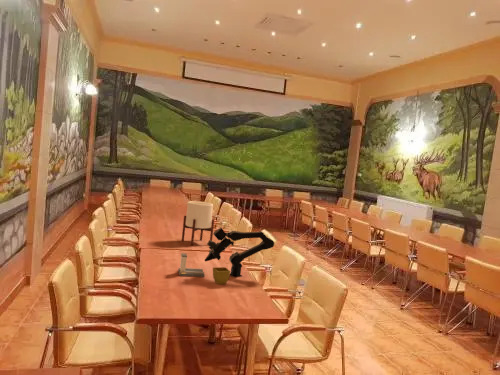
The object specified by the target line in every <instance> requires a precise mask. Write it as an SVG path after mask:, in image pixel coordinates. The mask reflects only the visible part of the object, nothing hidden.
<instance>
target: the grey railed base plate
mask: <svg viewBox="0 0 500 375" xmlns="http://www.w3.org/2000/svg"><path fill="white" fill-rule="evenodd" d="M177 272H178V274H179V277H195V278H196V277H202V278H205V272H204V268H193V267H186V269H185V271H180V267H178V270H177Z"/></svg>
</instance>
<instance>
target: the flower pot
mask: <svg viewBox="0 0 500 375" xmlns="http://www.w3.org/2000/svg"><path fill="white" fill-rule="evenodd" d="M229 274H231V270H230V269H228V268H227V267H225V266H224V267H212V276H213V281H214V282H215V284H217V285H226V284H227V282H228V280H229V277H230V275H229Z"/></svg>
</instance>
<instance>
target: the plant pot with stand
mask: <svg viewBox="0 0 500 375" xmlns="http://www.w3.org/2000/svg"><path fill="white" fill-rule="evenodd" d="M213 209H214V204H213V203H211V202H207V201H206V202H205V201H198V200H197V201H195V200H193V201H191V200H189V201H187V206H186V215H183V222H182V223H183V224H182V234H181V235H182V236H181V242H184V241H185V234H186V233H185V230H186V229H191V238H190V246H192V247H193V246H194V240H195V232H196V231H199V230H200V236H199V241H203V234H204V233H203V232H204V231H205V232H210V237H209V240H211V241H213V237H214V234H213V233H214V225H215V219H213V211H214V210H213Z"/></svg>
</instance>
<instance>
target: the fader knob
mask: <svg viewBox="0 0 500 375" xmlns="http://www.w3.org/2000/svg"><path fill="white" fill-rule="evenodd" d="M187 258H188V254H187V253H184V252H182V253H180V265H179V266H180V267H179V268H180V271H185V269H186V268H187Z"/></svg>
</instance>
